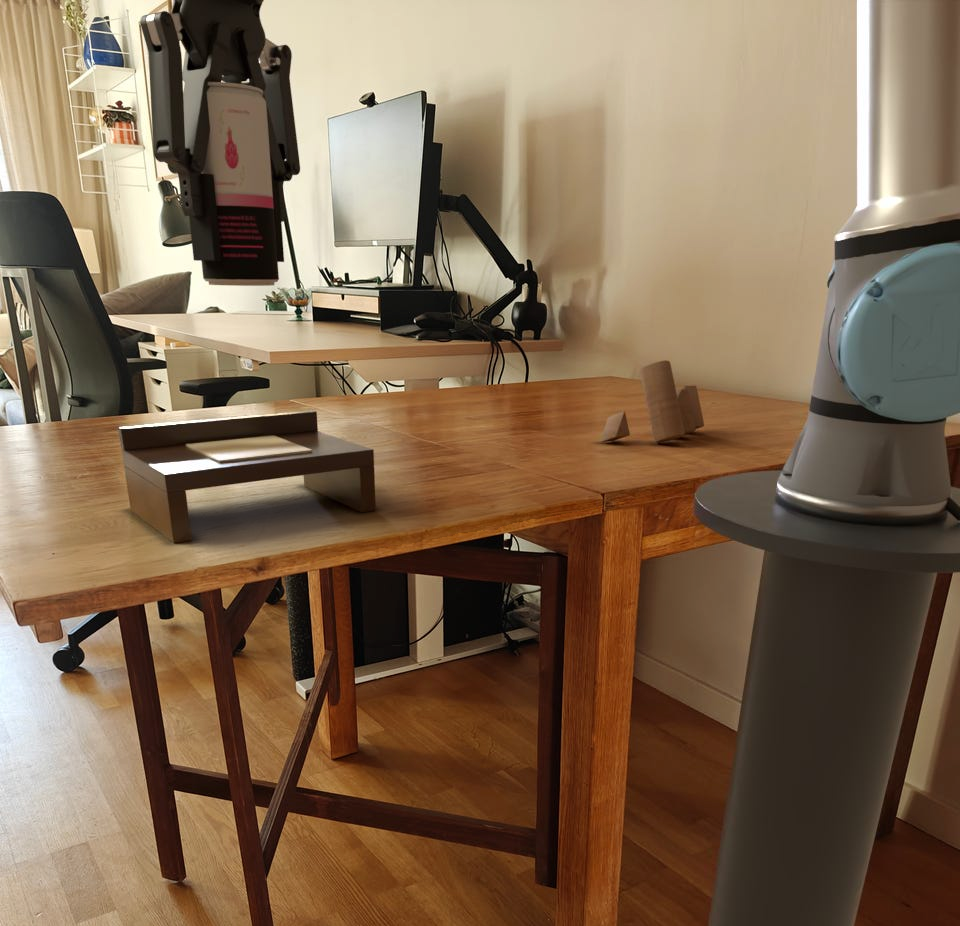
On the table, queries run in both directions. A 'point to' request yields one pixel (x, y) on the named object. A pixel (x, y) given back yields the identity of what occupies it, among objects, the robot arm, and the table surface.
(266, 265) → the beverage can
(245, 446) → the shelf
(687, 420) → the wooden block set
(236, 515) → the table surface
